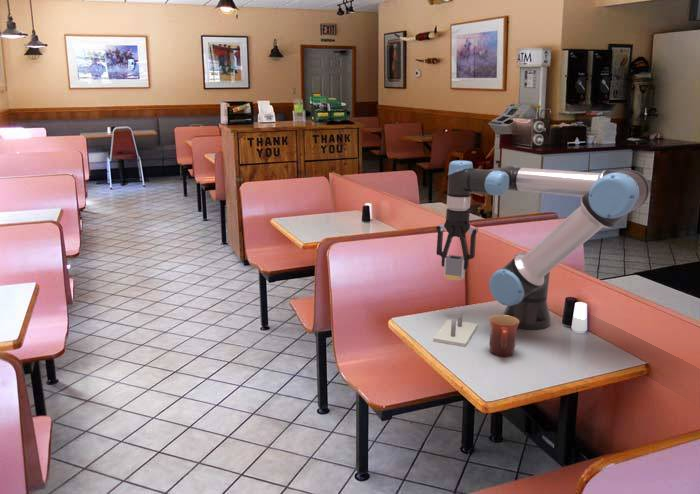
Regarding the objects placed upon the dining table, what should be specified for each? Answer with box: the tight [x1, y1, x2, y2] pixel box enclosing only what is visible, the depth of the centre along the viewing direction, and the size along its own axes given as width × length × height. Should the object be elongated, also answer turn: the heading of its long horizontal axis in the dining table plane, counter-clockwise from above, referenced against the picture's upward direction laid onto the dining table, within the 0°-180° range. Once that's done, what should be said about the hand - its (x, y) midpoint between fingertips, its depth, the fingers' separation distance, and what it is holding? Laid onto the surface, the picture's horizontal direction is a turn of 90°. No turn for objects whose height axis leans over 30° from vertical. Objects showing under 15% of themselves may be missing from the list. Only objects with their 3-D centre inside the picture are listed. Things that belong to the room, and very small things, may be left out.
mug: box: [488, 314, 520, 357], centre depth 186 cm, size 12×9×10 cm
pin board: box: [432, 310, 479, 348], centre depth 201 cm, size 10×18×6 cm, turn 157°
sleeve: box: [444, 254, 464, 281], centre depth 212 cm, size 5×5×7 cm
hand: (454, 276), depth 212 cm, fingers closed on sleeve, 5 cm apart
